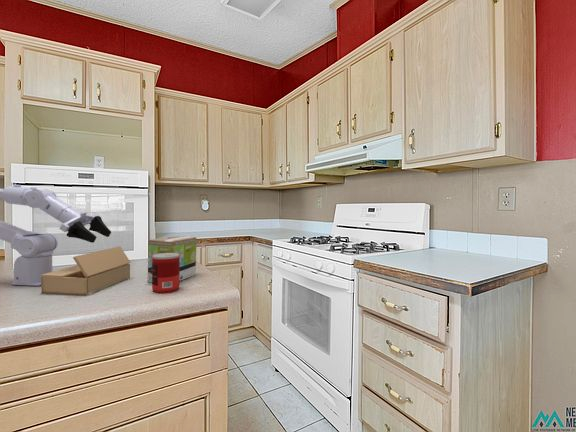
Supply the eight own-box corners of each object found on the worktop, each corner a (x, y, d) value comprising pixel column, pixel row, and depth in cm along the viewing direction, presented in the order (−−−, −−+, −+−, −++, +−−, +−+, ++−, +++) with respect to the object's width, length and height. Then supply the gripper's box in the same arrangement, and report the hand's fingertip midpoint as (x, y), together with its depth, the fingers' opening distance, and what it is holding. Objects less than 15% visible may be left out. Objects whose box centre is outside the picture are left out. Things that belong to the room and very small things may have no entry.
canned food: (184, 287, 94) (184, 253, 93) (166, 294, 86) (166, 258, 86) (165, 285, 96) (165, 251, 96) (146, 291, 89) (146, 255, 88)
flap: (72, 257, 84) (75, 256, 84) (118, 247, 103) (120, 246, 103) (85, 277, 84) (87, 276, 84) (128, 263, 103) (130, 262, 103)
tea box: (173, 285, 96) (173, 240, 96) (146, 283, 98) (146, 239, 98) (196, 274, 111) (197, 236, 110) (172, 272, 113) (173, 234, 112)
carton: (41, 293, 85) (41, 274, 85) (92, 276, 105) (92, 261, 105) (86, 295, 84) (86, 276, 84) (129, 278, 104) (129, 262, 103)
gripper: (53, 207, 88) (93, 232, 89) (87, 201, 102) (121, 223, 103) (43, 226, 89) (82, 250, 90) (77, 217, 103) (111, 239, 104)
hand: (102, 237), depth 96 cm, fingers open, 7 cm apart
